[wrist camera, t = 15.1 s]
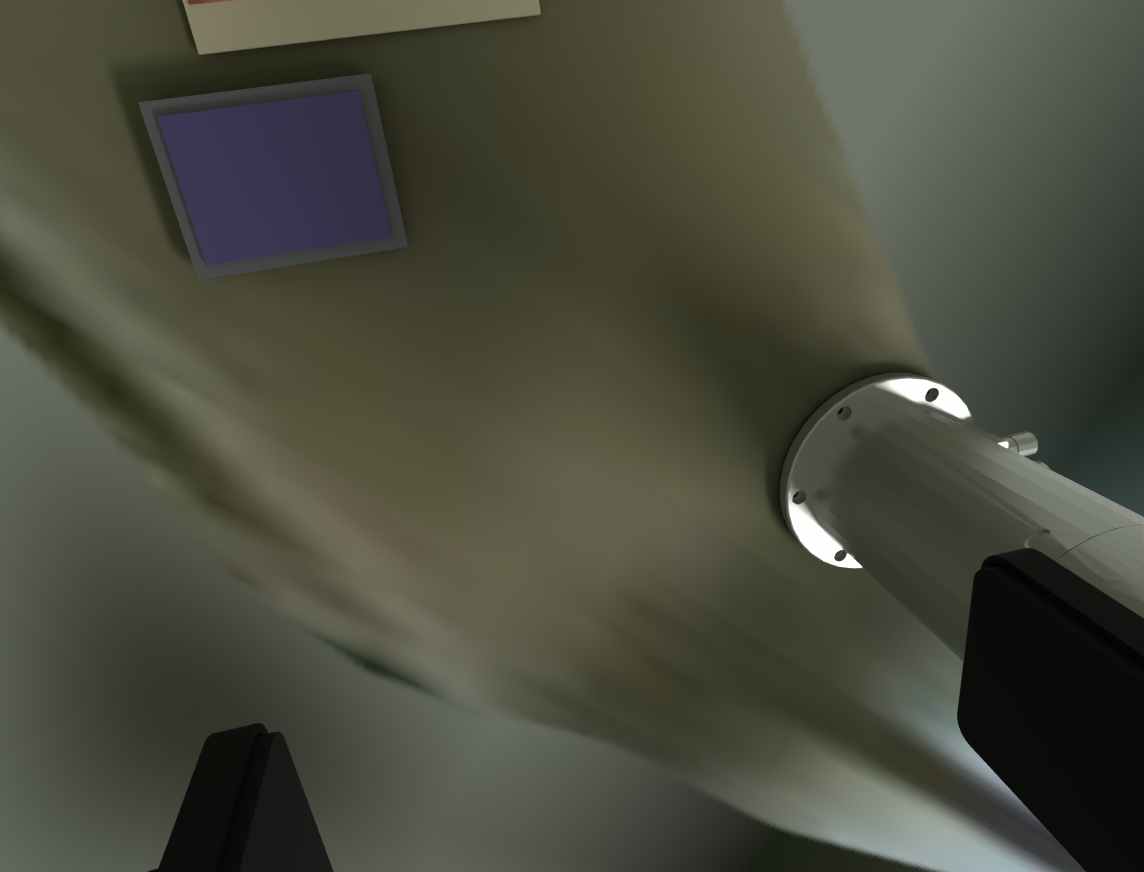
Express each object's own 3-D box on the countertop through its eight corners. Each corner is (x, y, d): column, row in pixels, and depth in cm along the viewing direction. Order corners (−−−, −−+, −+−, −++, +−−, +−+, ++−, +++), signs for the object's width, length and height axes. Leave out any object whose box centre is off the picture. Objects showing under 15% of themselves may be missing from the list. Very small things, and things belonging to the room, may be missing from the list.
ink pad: (372, 75, 30) (370, 72, 29) (408, 243, 33) (408, 248, 32) (147, 103, 29) (135, 101, 28) (205, 276, 32) (196, 282, 30)
